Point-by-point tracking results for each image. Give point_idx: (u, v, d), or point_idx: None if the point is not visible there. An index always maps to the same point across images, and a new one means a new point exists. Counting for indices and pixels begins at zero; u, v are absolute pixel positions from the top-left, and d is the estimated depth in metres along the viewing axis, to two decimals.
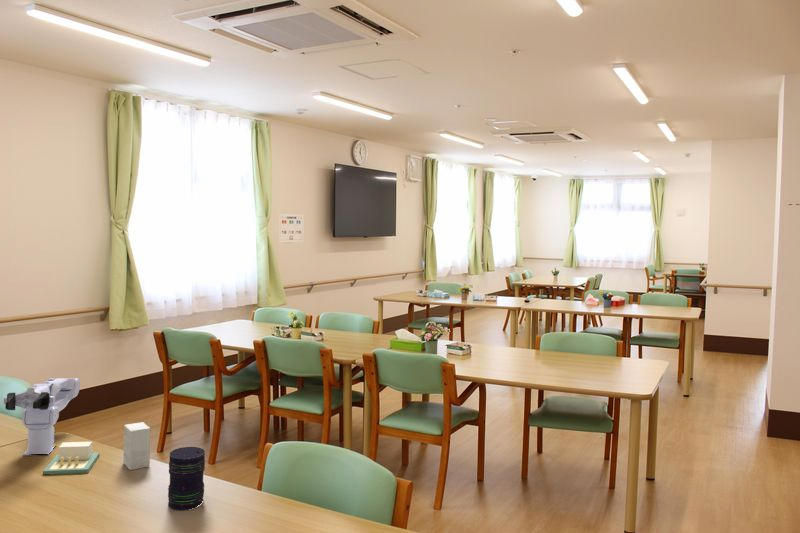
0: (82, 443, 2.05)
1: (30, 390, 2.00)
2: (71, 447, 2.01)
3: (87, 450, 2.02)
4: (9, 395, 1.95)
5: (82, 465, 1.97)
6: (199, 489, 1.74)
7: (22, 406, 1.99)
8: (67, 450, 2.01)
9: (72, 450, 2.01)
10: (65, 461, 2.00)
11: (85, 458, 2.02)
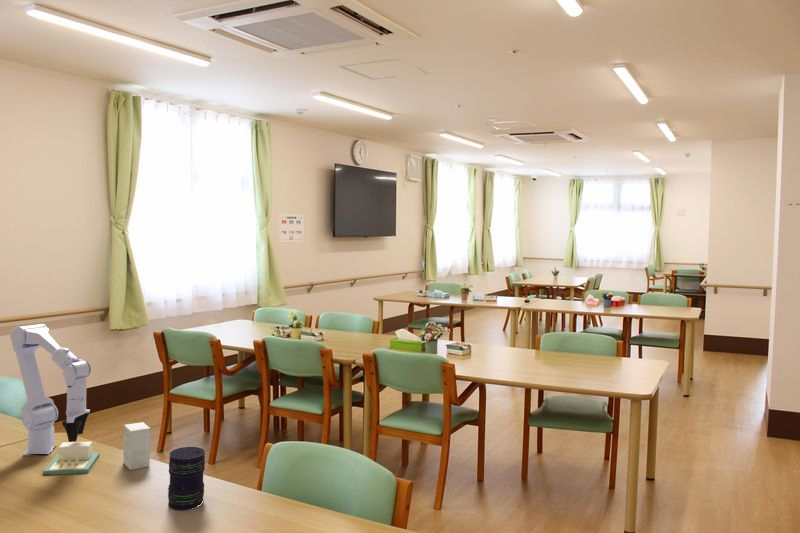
0: (82, 443, 2.05)
1: None
2: (71, 447, 2.01)
3: (87, 450, 2.02)
4: (79, 426, 1.99)
5: (82, 465, 1.97)
6: (199, 489, 1.74)
7: None
8: (67, 450, 2.01)
9: (72, 450, 2.01)
10: (65, 461, 2.00)
11: (85, 458, 2.02)
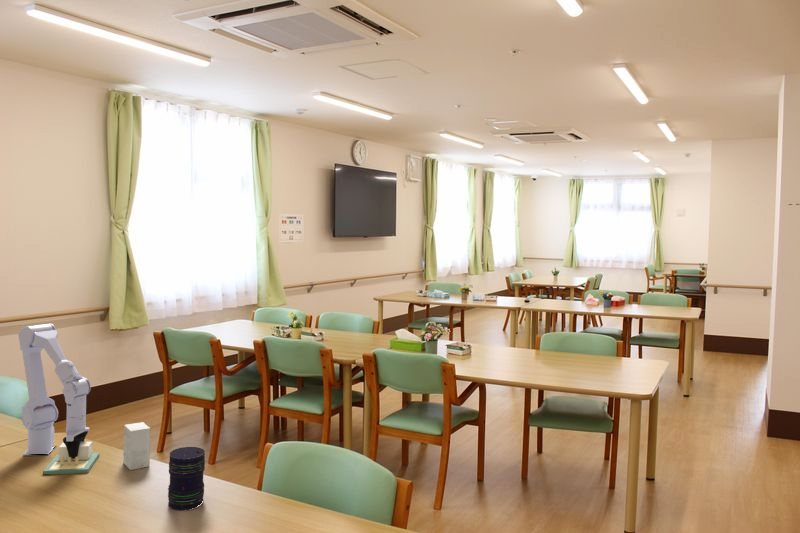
0: (82, 443, 2.05)
1: None
2: None
3: (87, 450, 2.02)
4: (79, 443, 2.00)
5: (82, 465, 1.97)
6: (199, 489, 1.74)
7: None
8: (67, 450, 2.01)
9: None
10: (65, 461, 2.00)
11: (85, 458, 2.02)
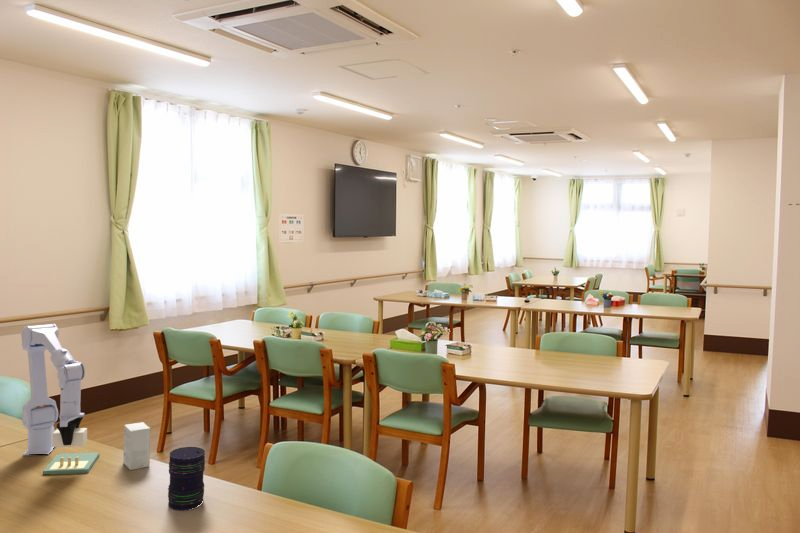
0: (76, 429, 1.98)
1: None
2: None
3: (82, 436, 1.95)
4: (74, 429, 1.93)
5: (82, 465, 1.97)
6: (199, 489, 1.74)
7: None
8: None
9: None
10: (65, 461, 2.00)
11: (80, 445, 1.95)
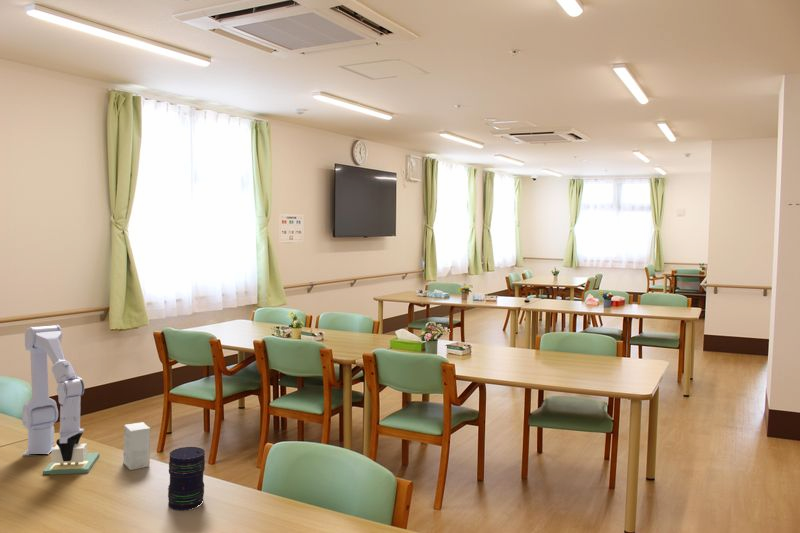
0: (76, 445, 1.98)
1: None
2: None
3: (82, 452, 1.96)
4: (73, 445, 1.93)
5: (82, 465, 1.97)
6: (199, 488, 1.74)
7: None
8: None
9: None
10: None
11: (80, 461, 1.96)
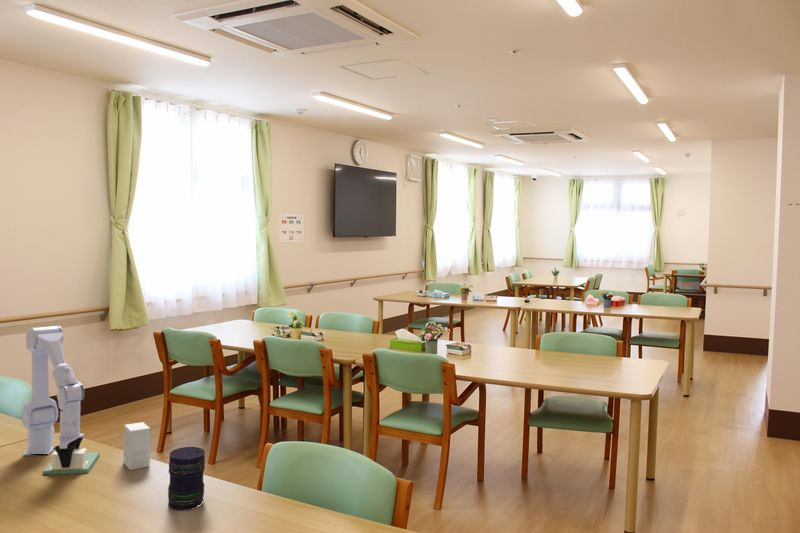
0: (76, 450, 1.98)
1: None
2: None
3: (81, 457, 1.96)
4: (72, 451, 1.92)
5: None
6: (199, 488, 1.74)
7: None
8: None
9: None
10: None
11: (79, 466, 1.96)
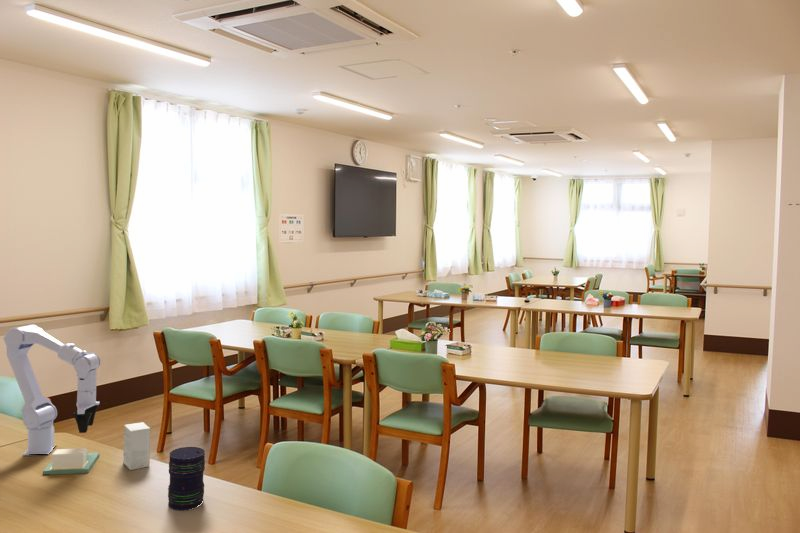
0: (76, 450, 1.98)
1: None
2: (65, 454, 1.94)
3: (81, 457, 1.96)
4: (89, 417, 2.04)
5: None
6: (199, 488, 1.74)
7: None
8: (61, 457, 1.94)
9: (66, 457, 1.95)
10: None
11: (79, 466, 1.96)
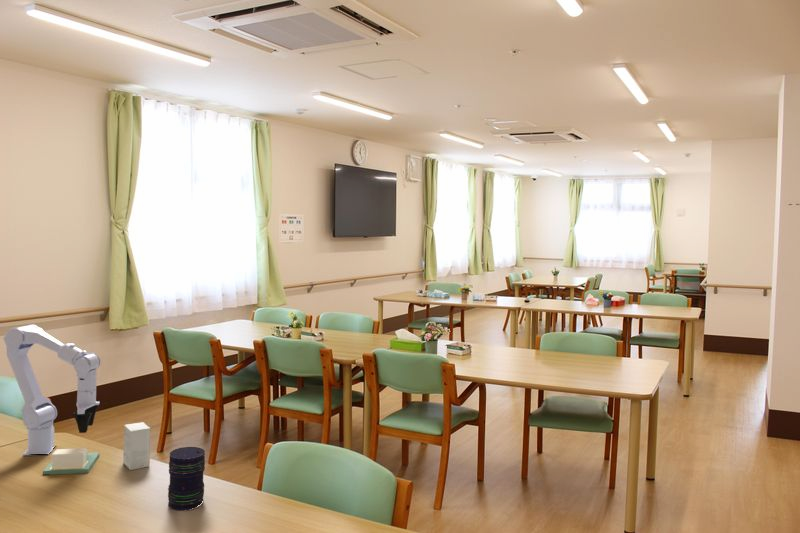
0: (76, 450, 1.98)
1: None
2: (65, 454, 1.94)
3: (81, 457, 1.96)
4: (89, 417, 2.04)
5: None
6: (199, 489, 1.74)
7: None
8: (61, 457, 1.94)
9: (66, 457, 1.95)
10: None
11: (79, 466, 1.96)
